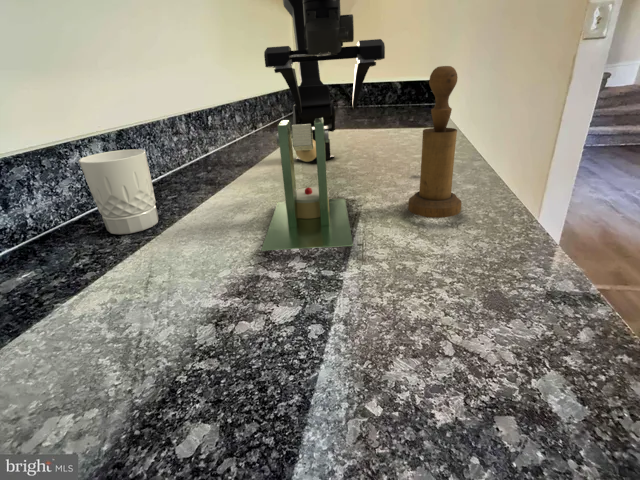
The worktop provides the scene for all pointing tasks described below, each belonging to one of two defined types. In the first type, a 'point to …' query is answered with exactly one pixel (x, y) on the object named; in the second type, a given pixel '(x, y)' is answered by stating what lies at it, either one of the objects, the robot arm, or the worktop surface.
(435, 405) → the worktop surface
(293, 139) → the lever
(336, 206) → the slicer bracket
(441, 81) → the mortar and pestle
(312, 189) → the cake
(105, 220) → the white cup
